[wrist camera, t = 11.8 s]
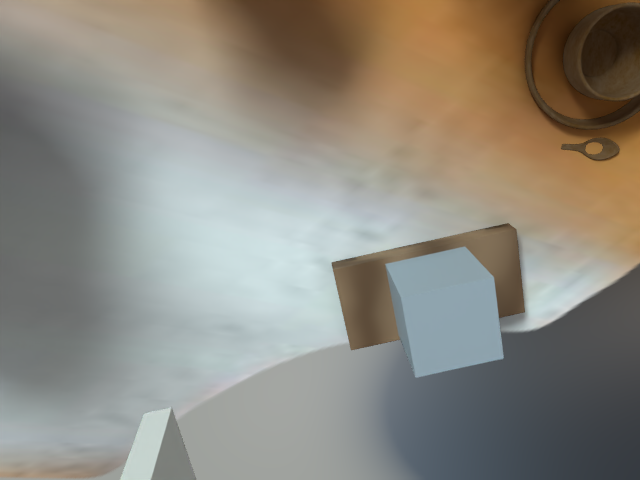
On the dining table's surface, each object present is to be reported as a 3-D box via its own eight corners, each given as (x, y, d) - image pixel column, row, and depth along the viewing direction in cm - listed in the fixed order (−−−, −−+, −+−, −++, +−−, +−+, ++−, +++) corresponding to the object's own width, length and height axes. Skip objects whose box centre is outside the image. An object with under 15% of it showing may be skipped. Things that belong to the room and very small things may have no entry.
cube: (398, 335, 50) (415, 377, 43) (385, 263, 48) (400, 297, 41) (474, 318, 50) (503, 358, 43) (465, 246, 47) (493, 277, 41)
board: (349, 340, 52) (351, 350, 50) (331, 262, 49) (333, 269, 47) (517, 303, 51) (524, 312, 50) (508, 223, 49) (516, 229, 47)
